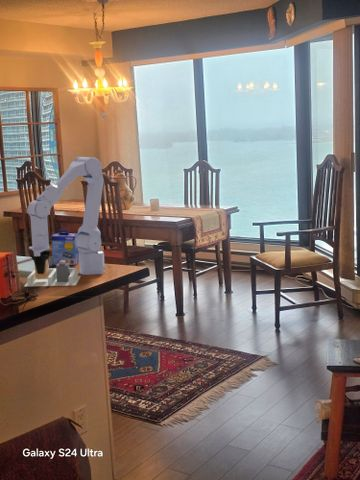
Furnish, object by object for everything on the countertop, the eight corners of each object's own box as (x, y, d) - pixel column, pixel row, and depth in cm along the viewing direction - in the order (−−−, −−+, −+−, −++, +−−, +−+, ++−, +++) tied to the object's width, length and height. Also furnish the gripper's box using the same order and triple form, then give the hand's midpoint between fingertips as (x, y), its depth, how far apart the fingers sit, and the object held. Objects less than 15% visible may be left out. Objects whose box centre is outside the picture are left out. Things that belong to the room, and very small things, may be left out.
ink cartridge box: (52, 265, 258) (50, 230, 255) (55, 262, 263) (53, 227, 260) (76, 265, 257) (74, 229, 254) (79, 262, 263) (77, 227, 260)
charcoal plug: (69, 279, 231) (68, 259, 229) (68, 281, 227) (67, 262, 225) (58, 279, 230) (57, 260, 229) (56, 282, 227) (55, 262, 225)
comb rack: (81, 277, 236) (80, 267, 235) (75, 287, 222) (75, 276, 221) (32, 278, 235) (31, 268, 235) (24, 288, 222) (23, 278, 221)
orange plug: (48, 275, 229) (47, 255, 228) (46, 277, 225) (45, 257, 224) (37, 275, 229) (36, 255, 228) (35, 278, 225) (34, 258, 224)
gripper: (32, 231, 231) (35, 267, 234) (24, 238, 217) (26, 277, 220) (52, 231, 231) (54, 267, 234) (44, 238, 217) (47, 276, 220)
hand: (42, 272), depth 227 cm, fingers closed on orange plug, 4 cm apart
